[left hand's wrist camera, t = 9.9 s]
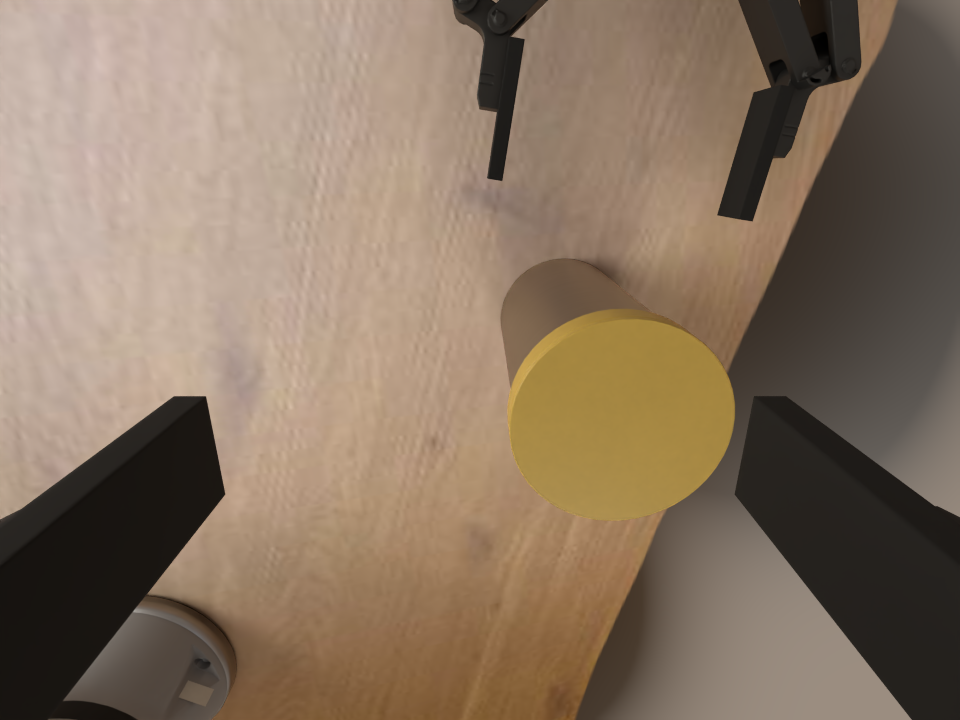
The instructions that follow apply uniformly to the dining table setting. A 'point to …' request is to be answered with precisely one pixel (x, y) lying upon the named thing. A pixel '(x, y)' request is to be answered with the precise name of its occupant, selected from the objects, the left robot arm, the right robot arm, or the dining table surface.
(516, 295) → the jar
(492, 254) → the dining table surface
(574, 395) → the lid
